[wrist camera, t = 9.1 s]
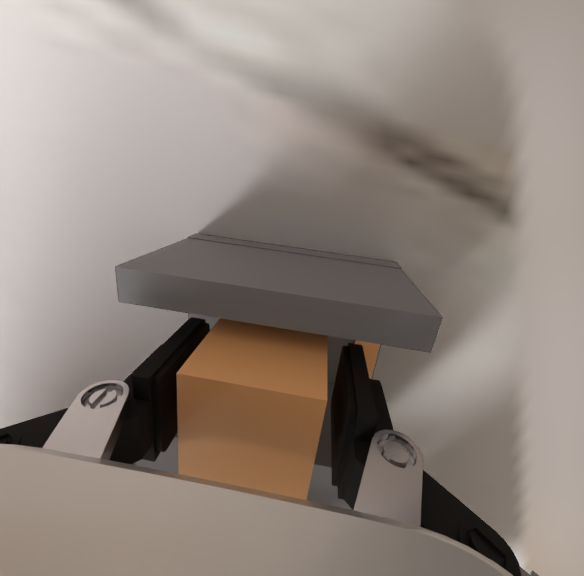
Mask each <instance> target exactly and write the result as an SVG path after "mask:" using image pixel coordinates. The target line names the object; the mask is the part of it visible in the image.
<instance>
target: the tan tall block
mask: <svg viewBox="0 0 584 576" xmlns="http://www.w3.org/2000/svg"><path fill="white" fill-rule="evenodd" d="M176 376H177V421H178V466H179V474H181V475H186V476H191V477H196V478H201V479H206V480H211V481H216V482H221V483H226V484H231V485H236V486H241V487H246V488H251V489H256V490H260V491H265V492H270V493H275V494H280V495H284V496H289V497H294V498H299V499H303V500H306V499H307V495H308V490H309V485H310V480H311V476H312V471H313V466H314V462H315V457H316V452H317V447H318V443H319V438H320V433H321V429H322V424H323V419H324V414H325V410H326V405H327V336H326V335H320V334H314V333H308V332H302V331H295V330H289V329H283V328H277V327H271V326H265V325H259V324H252V323H246V322H240V321H234V320H228V319H222V318H220V319H219V320H218V322H217V323H216V324H215V325H214V327H213V328H212V329H211V330H210V332H209V333H208V334H207V335H206V337H205V338H204V339H203V340H202V342H201V343H200V344H199V345H198V347H197V348H196V349H195V350H194V352H193V353H192V354H191V355H190V357H189V358H188V359H187V360H186V362H185V363H184V364H183V366H182V367H181V368H180V369H179V371H178V372H177V373H176Z"/></svg>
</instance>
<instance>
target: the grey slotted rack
mask: <svg viewBox="0 0 584 576" xmlns="http://www.w3.org/2000/svg"><path fill="white" fill-rule="evenodd" d="M115 272H116V282H117V291H118V301H119V302H123V303H130V304H136V305H142V306H148V307H154V308H160V309H166V310H173V311H179V312H185V313H189V319H190V318H191V317H194V318H200V319H205V320H206V323H209V325H210V330H211V329H212V328H213V327H214V325H215V324H216V323H217V322H218V320H219V319H220V318H222V319H228V320H234V321H240V322H246V323H252V324H259V325H265V326H271V327H277V328H283V329H289V330H295V331H302V332H308V333H314V334H320V335H326V336H327V405H326V410H325V414H324V419H323V424H322V429H321V433H320V438H319V443H318V447H317V452H316V457H315V462H314V466H313V471H312V476H311V480H310V485H309V490H308V495H307V499H306V500H308V501H313V502H318V503H323V504H327V505H332V506H337V507H342V508H346V509H350V510H352V509H351V508H350V506H349V505H348V504H347V503H346V502H345V501H344V500H342V499H338V489H337V486H332V468H331V398H332V393H333V388H334V384H335V379H336V374H337V369H338V364H339V360H340V355H341V350H342V346H347V345H348V343H353V344H359V345H362V346H363V351H364V355H365V360H366V364H367V369H368V374H369V378H370V379H372V377H373V373H374V370H375V366H376V362H377V358H378V354H379V351H380V347H381V345H388V346H394V347H400V348H406V349H412V350H418V351H424V352H431V350H432V347H433V344H434V341H435V338H436V335H437V332H438V329H439V326H440V324H441V321H442V318H443V317H442V316H441V315H440V314H439V312H438V311H437V310H436V309H435V308H434V307H433V305H432V304H431V303H430V302H429V301H428V300H427V298H426V297H425V296H424V295H423V294H422V293H421V291H420V290H419V289H418V288H417V287H416V286H415V285H414V283H413V282H412V281H411V280H410V279H409V278H408V276H407V275H406V274H405V273H404V272H403V271H402V269H401V267H400V266H399V265H398V263H397V262H391V261H384V260H377V259H370V258H363V257H356V256H349V255H342V254H335V253H328V252H321V251H314V250H307V249H300V248H293V247H286V246H280V245H273V244H266V243H259V242H252V241H245V240H238V239H231V238H224V237H217V236H210V235H203V234H195V235H192V236H189V237H188V238H187V239H184V240H182V241H179V242H177V243H174V244H172V245H169V246H166V247H164V248H161V249H159V250H156V251H154V252H151V253H148V254H146V255H143V256H141V257H138V258H136V259H133V260H131V261H128V262H125V263H123V264H120V265H118V266H115ZM136 466H141V467H146V468H151V469H156V470H162V471H167V472H172V473H177V474H179V466H178V432H177V434H176V435H175V437H174V439H173V440H172V442H171V444H170V445H169V447H168V449H167V450H166V451H165V452H160V454H159V456H158V457H157V459H156V460H155V462H153V461H148V460H143V459H142V460H140V461H137V462H136Z"/></svg>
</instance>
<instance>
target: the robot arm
mask: <svg viewBox="0 0 584 576" xmlns="http://www.w3.org/2000/svg"><path fill="white" fill-rule="evenodd" d="M209 332H210V325H209V323H206V320H205V319H200V318H194V317H191V318H190V319H188V320H187V321H186V322H185V323H184V324H183V325H182V326H181V327H180V328H179V329H178V330H177V331H176V332H175V333H174V334H173V335H172V336H171V337H170V338H169V339H168V340H167V341H166V342H165V343H164V344H162V345H161V346H159V347H158V348H157V349H156V350H155V351H154V352H153V353H152V354H151V355H150V356H149V357H148V358H147V359H146V360H145V361H144V362H143V363H142V364H141V365H140V366H139V367H138V368H137V369H136V370H135V371H134V372H133V373H132V374H131V375H130V376H129V377H128V378H126V379H125V380H124V381H119V380H105V381H101V382H97V383H94V384H92V385H90V386H88V387H86V388H85V389H83V390H82V391H81V392H80V393H79V394H78V395H77V396H76V398H75V399H74V401H73V402H72V404H71V405H70V407H69V408H66V409H63V410H60V411H57V412H54V413H50V414H47V415H44V416H41V417H37V418H34V419H31V420H28V421H25V422H21V423H18V424H15V425H12V426H8V427H5V428H2V429H0V576H538V575H537V574H536V573H535V572H534V571H531V573H530V574H528V573H527V572H526V571H525V570H523V569H522V568H521V567H520V566H519V563H518V561H517V559H516V557H515V555H514V553H513V551H512V550H511V548H510V547H509V546H508V544H507V543H506V542H505V540H504V539H503V538H502V537H501V536H500V535H499V534H498V533H497V532H496V531H495V530H493V529H492V528H491V527H490V526H489V525H487V524H486V523H485V522H484V521H483V520H482V519H480V518H479V517H478V516H477V515H476V514H474V513H473V512H472V511H471V510H470V509H469V508H467V507H466V506H465V505H464V504H463V503H461V502H460V501H459V500H458V499H457V498H456V497H454V496H453V495H452V494H451V493H450V492H449V491H447V490H446V489H445V488H444V487H443V486H441V485H440V484H439V483H438V482H437V481H436V480H434V479H433V478H432V477H431V476H430V475H428V474H427V473H426V472H425V471H424V470H423V457H422V453H421V451H420V449H419V448H418V446H417V445H416V444H415V443H414V442H413V441H412V440H411V439H410V438H408V437H407V436H405V435H404V434H402V433H400V432H397V431H394V430H393V427H392V423H391V419H390V415H389V412H388V408H387V404H386V400H385V397H384V393H383V389H382V386H381V383H380V381H379V380H373V379H370V378H369V374H368V369H367V364H366V360H365V355H364V351H363V346H362V345H359V344H353V343H348V345H347V346H342V350H341V355H340V360H339V364H338V369H337V374H336V379H335V384H334V388H333V393H332V398H331V468H332V486H337V489H338V499H342V500H344V501H345V502H346V503H347V504H348V505H349V506H350V508H351V509H352V510H350V509H346V508H342V507H337V506H332V505H327V504H323V503H318V502H313V501H308V500H303V499H299V498H294V497H289V496H284V495H280V494H275V493H270V492H265V491H260V490H256V489H251V488H246V487H241V486H236V485H231V484H226V483H221V482H216V481H211V480H206V479H201V478H196V477H191V476H186V475H181V474H177V473H172V472H167V471H162V470H156V469H151V468H146V467H141V466H136V462H137V461H140V460H142V459H143V460H148V461H153V462H155V460H156V459H157V457H158V456H159V454H160V452H165V451H166V450H167V449H168V447H169V445H170V444H171V442H172V440H173V439H174V437H175V435H176V434H177V432H178V421H177V376H176V373H177V372H178V371H179V369H180V368H181V367H182V366H183V364H184V363H185V362H186V360H187V359H188V358H189V357H190V355H191V354H192V353H193V352H194V350H195V349H196V348H197V347H198V345H199V344H200V343H201V342H202V340H203V339H204V338H205V337H206V335H207V334H208V333H209Z"/></svg>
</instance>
